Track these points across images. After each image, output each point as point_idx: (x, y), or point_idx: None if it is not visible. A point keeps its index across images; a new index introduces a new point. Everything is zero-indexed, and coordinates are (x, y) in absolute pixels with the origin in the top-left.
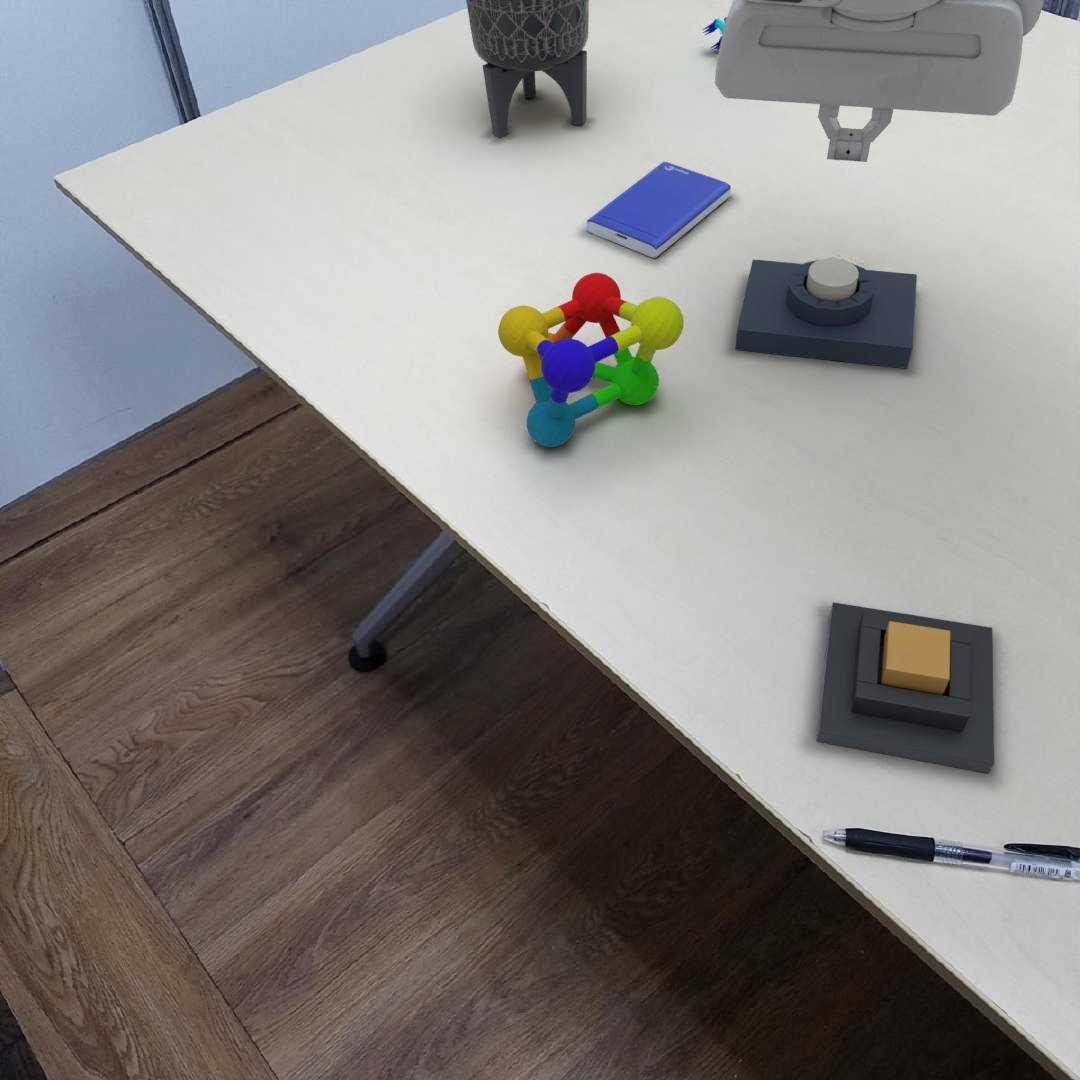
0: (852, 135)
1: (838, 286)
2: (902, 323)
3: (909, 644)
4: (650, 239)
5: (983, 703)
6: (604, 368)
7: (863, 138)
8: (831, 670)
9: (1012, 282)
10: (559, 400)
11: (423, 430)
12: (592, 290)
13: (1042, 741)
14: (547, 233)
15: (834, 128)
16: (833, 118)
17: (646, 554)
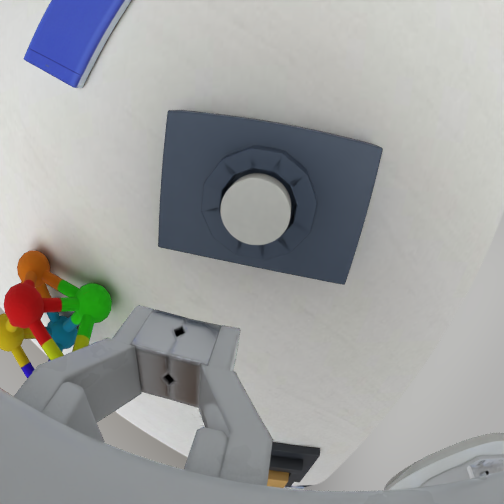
0: (172, 383)
1: (259, 244)
2: (343, 246)
3: (268, 483)
4: (68, 77)
5: (303, 472)
6: (68, 296)
7: (201, 411)
8: None
9: (479, 136)
10: None
11: None
12: (16, 326)
13: (324, 470)
14: (9, 71)
15: (115, 408)
16: (98, 395)
17: (147, 401)
